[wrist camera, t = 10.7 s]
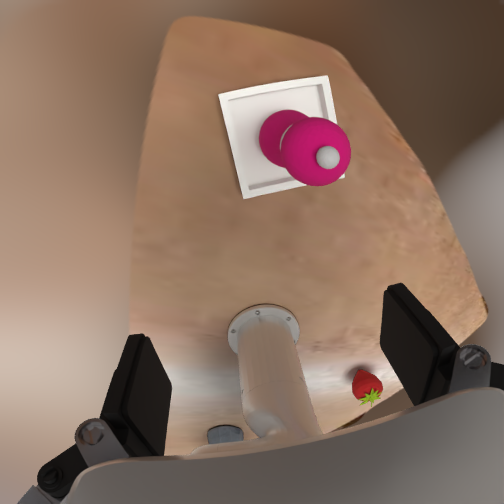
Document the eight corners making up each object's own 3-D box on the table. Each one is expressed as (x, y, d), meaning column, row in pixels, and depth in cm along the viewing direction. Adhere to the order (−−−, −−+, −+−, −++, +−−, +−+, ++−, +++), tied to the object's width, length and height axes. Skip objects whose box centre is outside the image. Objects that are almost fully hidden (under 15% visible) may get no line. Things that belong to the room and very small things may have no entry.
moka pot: (239, 447, 72) (245, 511, 54) (187, 432, 67) (184, 502, 49) (260, 431, 69) (269, 500, 51) (205, 416, 64) (205, 491, 46)
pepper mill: (317, 123, 39) (390, 139, 21) (295, 170, 42) (349, 220, 24) (269, 100, 37) (308, 92, 19) (246, 149, 40) (266, 183, 22)
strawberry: (361, 382, 64) (376, 415, 55) (338, 375, 62) (352, 410, 53) (379, 365, 62) (396, 398, 53) (357, 357, 60) (373, 392, 51)
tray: (337, 173, 43) (344, 177, 40) (242, 193, 43) (243, 199, 41) (320, 77, 37) (327, 75, 34) (218, 95, 37) (218, 94, 34)
